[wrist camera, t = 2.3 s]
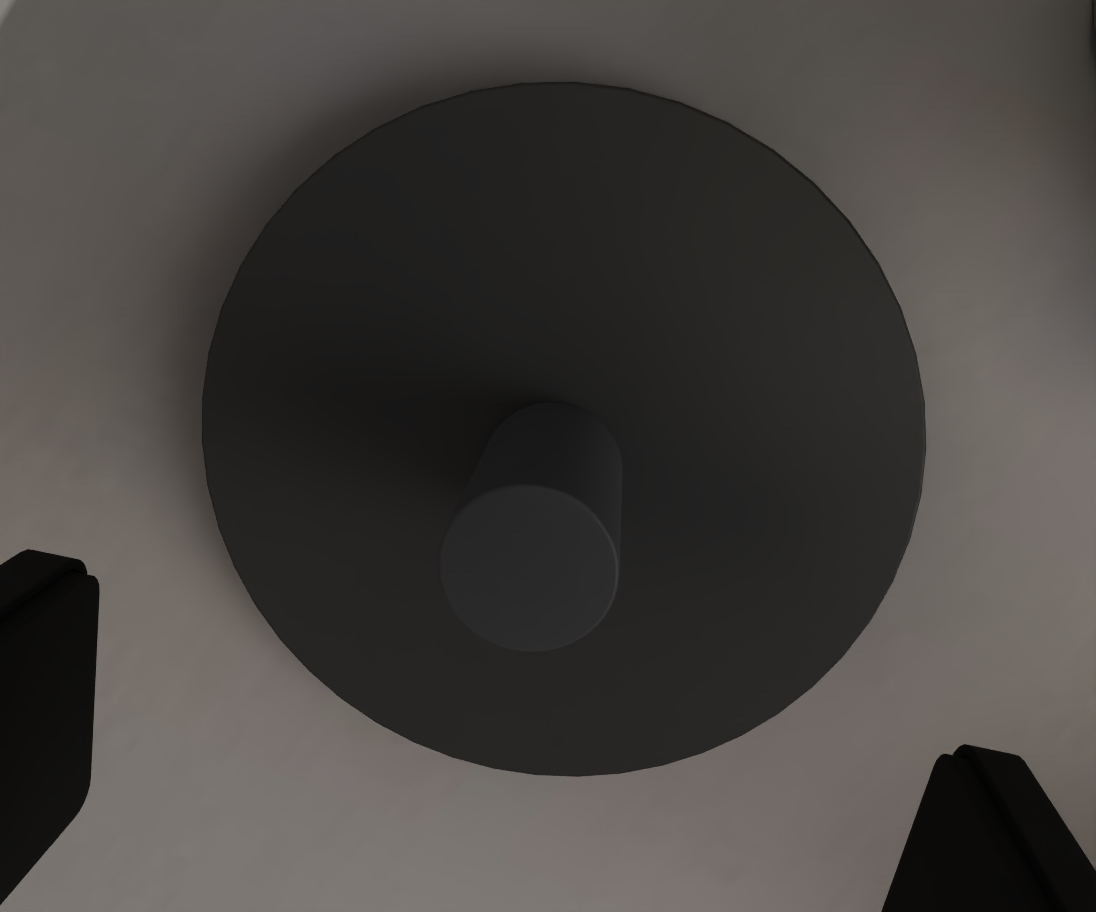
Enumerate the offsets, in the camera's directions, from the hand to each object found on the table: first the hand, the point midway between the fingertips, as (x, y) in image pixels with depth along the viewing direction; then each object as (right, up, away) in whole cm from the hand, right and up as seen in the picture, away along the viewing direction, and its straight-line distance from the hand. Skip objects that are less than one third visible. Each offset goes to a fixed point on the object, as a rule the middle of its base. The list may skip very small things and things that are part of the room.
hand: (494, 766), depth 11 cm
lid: (+1, +3, +9) cm, 10 cm away
